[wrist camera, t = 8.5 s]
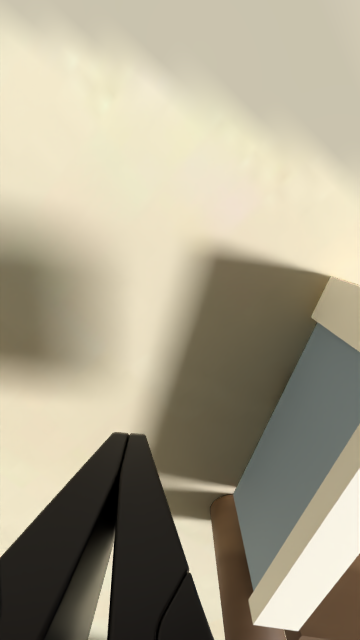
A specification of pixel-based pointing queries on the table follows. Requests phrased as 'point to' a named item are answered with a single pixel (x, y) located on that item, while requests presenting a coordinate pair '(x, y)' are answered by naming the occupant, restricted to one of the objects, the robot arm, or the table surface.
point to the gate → (307, 473)
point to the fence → (236, 588)
